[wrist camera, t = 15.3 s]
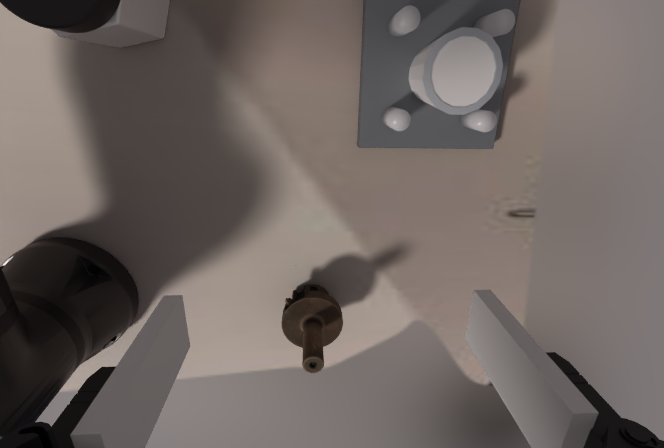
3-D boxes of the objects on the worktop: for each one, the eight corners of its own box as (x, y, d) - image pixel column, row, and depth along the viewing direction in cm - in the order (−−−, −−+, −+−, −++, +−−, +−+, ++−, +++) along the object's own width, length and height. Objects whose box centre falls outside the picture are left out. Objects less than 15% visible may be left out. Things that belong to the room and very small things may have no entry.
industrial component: (350, 305, 48) (363, 373, 37) (306, 332, 49) (306, 405, 38) (310, 254, 45) (311, 311, 34) (264, 283, 46) (250, 348, 35)
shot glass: (478, 46, 36) (516, 38, 29) (455, 116, 38) (485, 123, 32) (414, 28, 35) (438, 16, 28) (394, 101, 37) (412, 105, 31)
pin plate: (357, 145, 40) (364, 154, 35) (364, -12, 35) (374, -28, 29) (486, 146, 41) (512, 155, 36) (513, -6, 36) (548, -21, 30)
